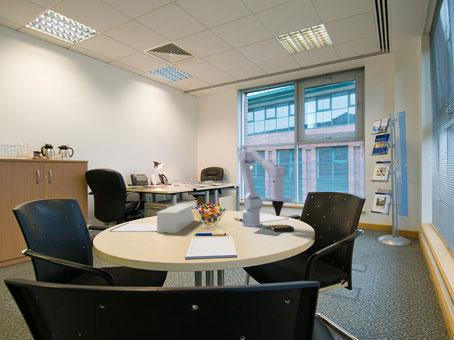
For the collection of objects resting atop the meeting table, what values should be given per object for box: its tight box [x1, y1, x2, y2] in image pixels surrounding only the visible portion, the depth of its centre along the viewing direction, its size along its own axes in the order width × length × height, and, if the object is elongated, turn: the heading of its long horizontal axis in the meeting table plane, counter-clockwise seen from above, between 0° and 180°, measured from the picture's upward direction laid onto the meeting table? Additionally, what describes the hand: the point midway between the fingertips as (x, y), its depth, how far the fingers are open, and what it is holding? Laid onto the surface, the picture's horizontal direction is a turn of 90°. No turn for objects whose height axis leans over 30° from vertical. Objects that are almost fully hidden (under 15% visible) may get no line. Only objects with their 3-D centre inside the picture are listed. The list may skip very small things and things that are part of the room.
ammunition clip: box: [269, 223, 295, 232], centre depth 140 cm, size 11×2×12 cm
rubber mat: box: [254, 225, 284, 237], centre depth 137 cm, size 12×16×1 cm
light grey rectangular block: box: [156, 203, 195, 234], centre depth 151 cm, size 32×11×11 cm, turn 170°
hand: (278, 215), depth 135 cm, fingers closed
